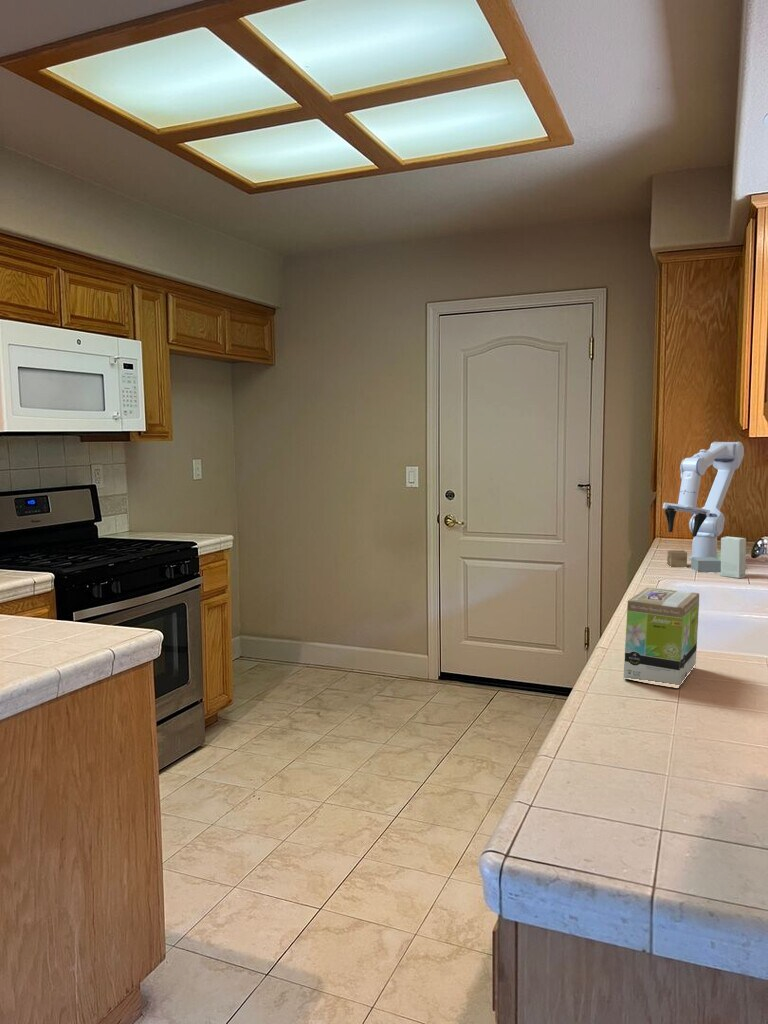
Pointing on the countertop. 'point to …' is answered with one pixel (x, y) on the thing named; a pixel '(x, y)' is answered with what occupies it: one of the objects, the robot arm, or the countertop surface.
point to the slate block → (705, 564)
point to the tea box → (661, 635)
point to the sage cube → (718, 555)
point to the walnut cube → (677, 558)
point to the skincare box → (733, 557)
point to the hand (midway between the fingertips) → (682, 534)
